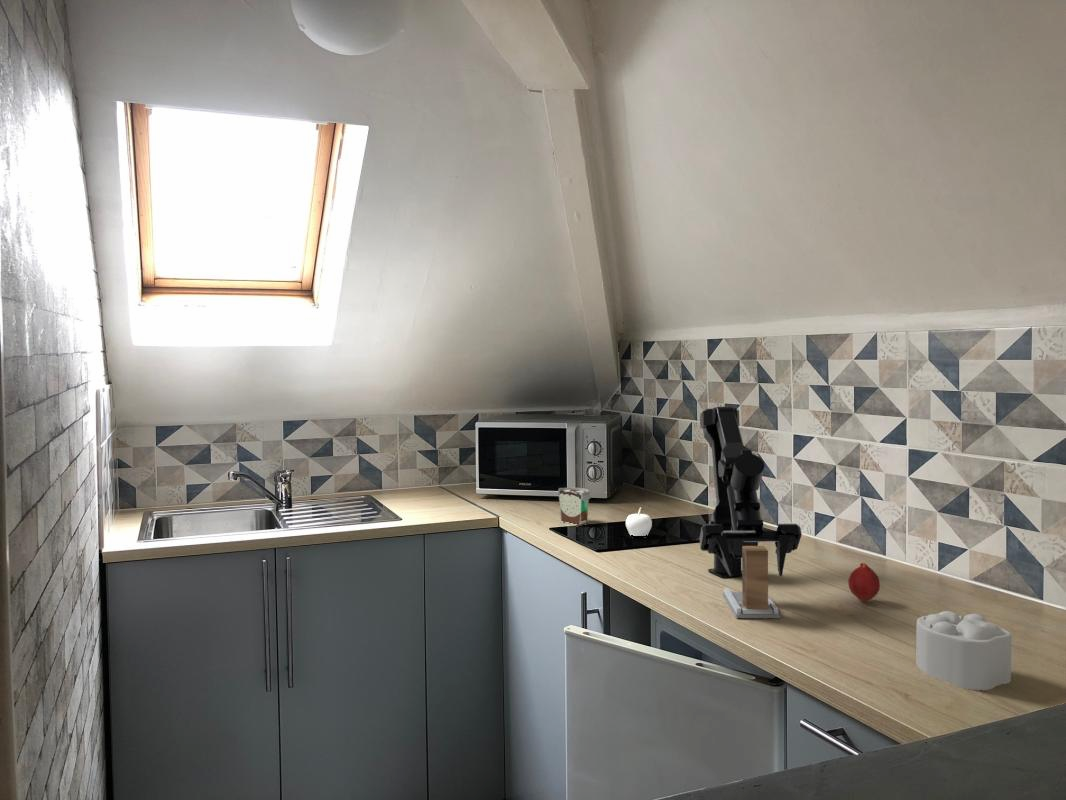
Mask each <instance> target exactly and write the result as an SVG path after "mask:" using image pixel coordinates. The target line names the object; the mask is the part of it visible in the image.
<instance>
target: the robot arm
mask: <svg viewBox="0 0 1066 800" xmlns="http://www.w3.org/2000/svg"><path fill="white" fill-rule="evenodd" d="M699 425H700V426H699V427H700V429H702V432H703V438H704V439H705V441H706V442H707V443H708V444H709V446H710V447H711V452H712V453H711V454H712V457H711V458H712V467H713V479H714V489H715V503H716V506H715V508H714V510H712V514H711V516H710V521H709V522H708V523H706V524H705V523H704V524H703V525H702V526H701V528H700V534H699V547H700V550H701V551H702V552H707V553H708V554H713V568H708V569H707V571H708V572H709V573H711V574H713V575H716V576H718V577H719V578H724V579H725V578H732V577H741V576H742V546H759V543H774V544H775V545H774V546H775V552H774V553H775V555H776V562H777V572H778V576H779V577H782V576H783V571H784V566H785V561H786V556H787V554H790V553H792V551H795V550H798V547H799V544H800V541H801V538H802V535H803V534H802V529H801V527H800V525H798V524H797V523H778V524H777V528H776V530H764V519H763V518H762V513H761V504H760V502H759V497H758V493H757V492H758V490H759V489H760V486H761V482H762V480H763V474H764V470H765V462H764V460H762V458H761V457H760V456H758V455H756V454H753V452H752V449H750V448H748V447H747V446H745V445H744V442H743V439H742V434H741V431H740V426H741V423H740V410H738V409H737V407H735V406H730V405H729V406H715V407H713V408H705V409H704V410H702V412H701V413H700V415H699Z"/></svg>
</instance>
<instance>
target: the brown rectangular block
mask: <svg viewBox="0 0 1066 800" xmlns="http://www.w3.org/2000/svg"><path fill="white" fill-rule="evenodd" d="M741 570H742V577H741V579H742V580H741V581H742V584H741V585H742V587H741V589H742V590H741V592H742V602H738V604H739V606H740V607H741V611H742V613H743V614H773V610H772V608H771V607H770V606H769V604H768V596H769V550H768V549H767V547H765V546H764V545H758V546H742V558H741Z"/></svg>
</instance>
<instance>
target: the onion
mask: <svg viewBox="0 0 1066 800" xmlns="http://www.w3.org/2000/svg"><path fill="white" fill-rule="evenodd" d="M847 583H848V588H849V591H850V592H851V593H852V594H853V596H855V597H856V598H857V600H859V601H860V602H861V603H867V602H870V600H872V599H873V598H874V597H876V596H877V595H878V594H879V591H880V586H881V583H880V579H879V576H878V574H877V573H876V572H875V571H874V570H873V569H872V568H871V567H870V566H869V565H868V564H867V563H866V562H863V561H862V562H861V563H860V564H859V566H858V567H857V568H855V569H854V570H852V572H851V573H850V575H849V578H848V582H847Z"/></svg>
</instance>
